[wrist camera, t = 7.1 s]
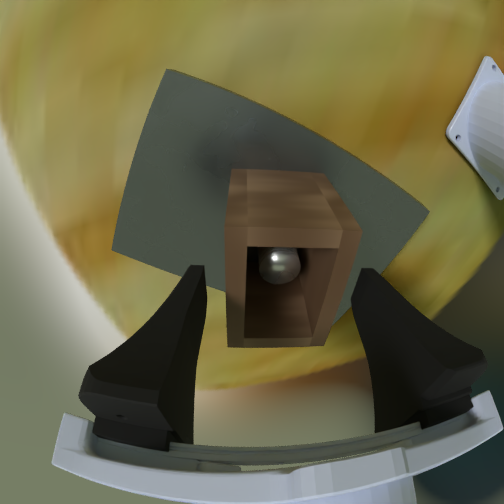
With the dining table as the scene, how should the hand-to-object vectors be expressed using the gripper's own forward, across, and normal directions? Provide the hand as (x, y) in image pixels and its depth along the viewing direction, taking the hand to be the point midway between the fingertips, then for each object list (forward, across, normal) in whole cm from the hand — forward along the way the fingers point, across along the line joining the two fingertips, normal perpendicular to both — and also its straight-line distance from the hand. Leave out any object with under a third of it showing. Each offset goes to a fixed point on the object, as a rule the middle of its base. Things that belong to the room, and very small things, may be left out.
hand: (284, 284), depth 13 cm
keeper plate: (+6, 0, 0) cm, 6 cm away
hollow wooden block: (+5, 0, 0) cm, 5 cm away
